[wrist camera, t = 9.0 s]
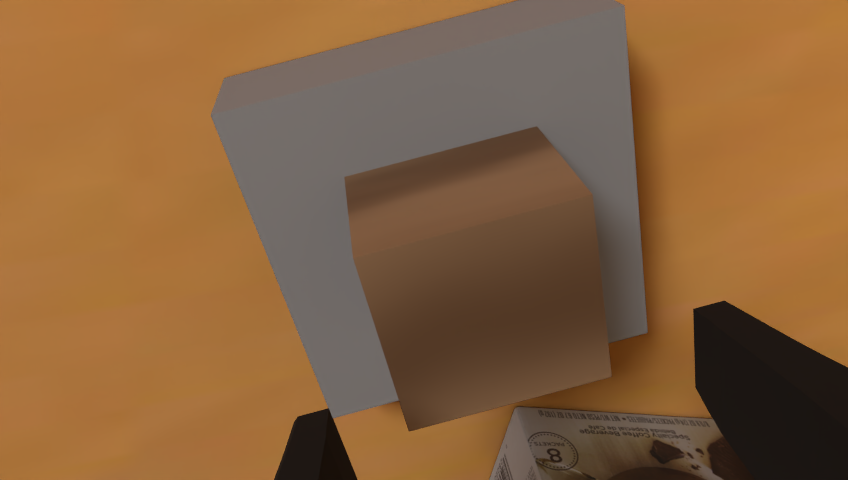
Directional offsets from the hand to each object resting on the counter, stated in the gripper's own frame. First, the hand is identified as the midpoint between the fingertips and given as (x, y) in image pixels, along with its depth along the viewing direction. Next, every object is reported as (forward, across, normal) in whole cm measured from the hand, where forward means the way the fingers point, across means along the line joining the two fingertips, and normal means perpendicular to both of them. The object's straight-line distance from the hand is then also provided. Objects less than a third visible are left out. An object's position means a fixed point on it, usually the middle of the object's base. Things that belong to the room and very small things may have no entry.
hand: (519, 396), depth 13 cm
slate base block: (+9, 0, 0) cm, 9 cm away
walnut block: (+6, 0, 0) cm, 6 cm away
